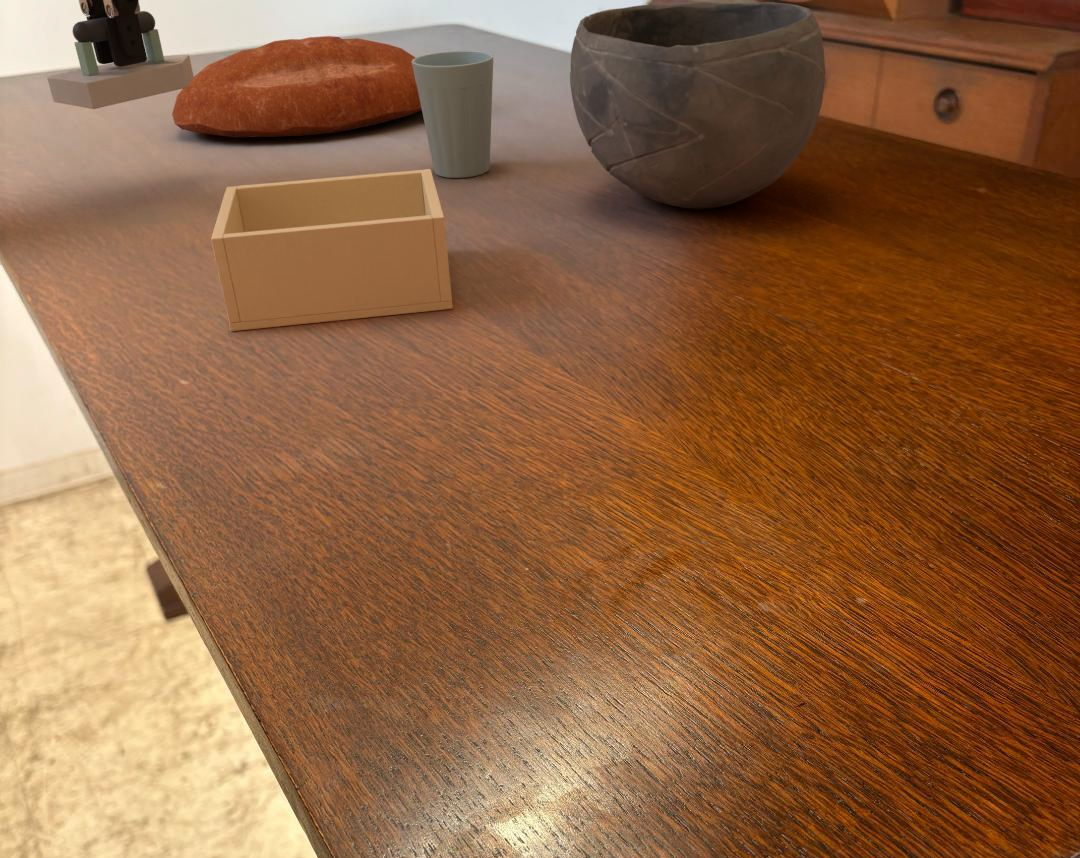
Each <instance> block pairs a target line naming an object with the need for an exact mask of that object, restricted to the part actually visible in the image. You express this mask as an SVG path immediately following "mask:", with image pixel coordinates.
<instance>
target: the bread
mask: <svg viewBox="0 0 1080 858" xmlns="http://www.w3.org/2000/svg"><path fill="white" fill-rule="evenodd" d="M415 58H417V57H416V56H414V55H412V54H411V53H410V52H408V51H407V50H405V49H403V48H402V47H398V46H395V45H392V44H389V43H383V42H379V41H374V40H369V39H364V38H358V37H357V38H342V37H340V36H332V35H331V36H330V35H326V36H325V35H324V36H323V35H322V36H311V37H305V38H299V39H297V38H296V39H295V38H294V39H293V38H290V39H281V40H274V41H271V42H268V43H266V44H265V43H264V44H263V45H260V46H259V47H255V48H249V49H242V50H240V51H237V52H235V53H233V54H231V55H228V56H226V57H224V58H221V59H219V60H216V61H214V62H212V63H210V64H208V65H206V66H205V67H204V68H203V69H201V70H200V71H199V72H198V73H197V74H196V75H193V76H194V79H193V80H192V82H191V83H190V84H189V86H188V87H187V88H183V89H180V92H179V93H178V94H177V95H176V98H175V102H174V106H173V110H172V113H171V116H172V120H173V123H174V125H176V126H177V127H178V128H179V129H181V130H184V131H188V132H192V133H197V134H204V135H205V134H206V135H213V136H220V137H221V136H222V137H228V138H229V137H230V138H272V137H273V138H276V137H277V138H280V137H304V136H305V137H306V136H307V137H308V136H315V135H316V136H317V135H326V134H327V135H328V134H334V133H342V132H346V131H350V130H355V129H361V128H365V127H370V126H375V125H379V124H384V123H387V122H390V121H394V120H398V119H401V118H404V117H408V116H411V115H414V114H417V113H418V112H422V108H421V103H420V98H419V93H418V88H417V84H416V80H415V75H414V71H413V66H412V60H413V59H415Z"/></svg>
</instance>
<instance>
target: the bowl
mask: <svg viewBox="0 0 1080 858" xmlns="http://www.w3.org/2000/svg"><path fill="white" fill-rule="evenodd" d="M570 55H571V56H570V72H569V86H570V91H571V98H572V105H573V109H574V113H575V116H576V120H577V123H578V126H579V128H580V130H581V133H582V135H583V137H584V140H585V141H586V143H587V145H588V147H590V148H591V154H593V156H594V158H596V160H597V161H598V163H599V164H600V165H601V167H602V168H603V169H604V170H605V171H606V172H608V173H609V175H610V176H612V177H613V178H614V179H616V180H617V181H619V182H620V183H622V184H623V185H625V186H626V187H627V188H628V189H630V190H631V191H633V192H635V193H636V194H638V195H640V196H642V197H644V198H646V199H649V200H652V201H655V202H658V203H662V204H665V205H669V206H673V207H676V208H683V209H688V210H689V209H690V210H691V209H692V210H706V209H716V208H721V207H725V206H729V205H733V204H735V203H737V202H740V201H743V200H745V199H747V198H750V197H752V196H753V195H755V194H756V193H758V192H760V191H762V190H764V189H765V188H768V187H770V186H771V185H772V184H774V183H775V182H776V181H777V180H778V179H780V178H782V177H783V175H784V174H785V173H786V172H787V171H788V169H789V168H790V167H791V166H792V165H793V164H794V162H795V161H796V160H797V158H798V157H799V156H800V155H801V153H802V152H803V151H804V149H805V147H806V146H807V144H808V142H809V140H810V137H811V136H812V133H813V131H814V130H815V127H816V124H817V121H818V119H819V116H820V112H821V109H822V105H823V100H824V92H825V90H824V89H825V82H826V76H825V75H826V62H825V50H824V43H823V36H822V31H821V28H820V25H819V22H818V19H817V18H816V16H815V14H814V12H813V10H811V9H810V8H808V7H805V6H802V5H798V4H792V3H783V2H773V1H765V2H731V1H730V2H729V1H698V2H683V3H674V4H673V3H672V4H657V5H656V4H651V5H650V4H641V5H640V4H639V5H633V6H628V7H621V8H620V7H619V8H609V9H606V10H605V9H604V10H601V11H598V12H594V13H591V14H589V15H586V16H584V17H583V18H582V19H580V21H579V23H578V26H577V28H576V31H575V36H574V38H573V43H572V47H571V53H570Z"/></svg>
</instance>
